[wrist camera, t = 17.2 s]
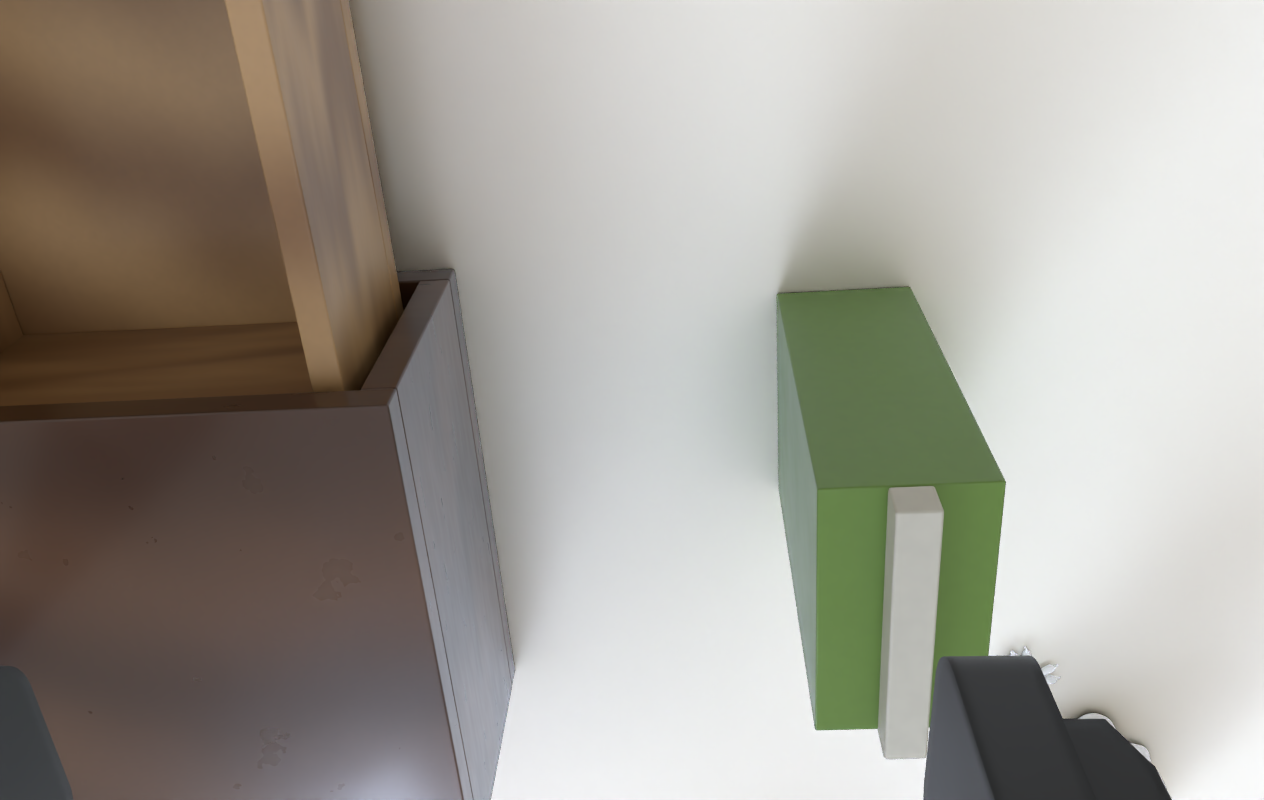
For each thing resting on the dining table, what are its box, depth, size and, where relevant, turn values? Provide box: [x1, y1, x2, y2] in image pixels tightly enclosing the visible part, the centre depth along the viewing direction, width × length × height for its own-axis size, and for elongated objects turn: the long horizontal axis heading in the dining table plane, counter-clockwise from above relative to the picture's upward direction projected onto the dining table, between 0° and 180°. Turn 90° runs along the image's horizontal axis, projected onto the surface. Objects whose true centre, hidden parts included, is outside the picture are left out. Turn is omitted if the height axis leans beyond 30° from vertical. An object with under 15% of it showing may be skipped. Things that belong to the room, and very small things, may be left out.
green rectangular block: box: [777, 287, 1006, 759], centre depth 30 cm, size 7×4×12 cm, turn 4°
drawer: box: [0, 0, 404, 406], centre depth 26 cm, size 20×14×7 cm
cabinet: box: [0, 269, 515, 800], centre depth 34 cm, size 16×15×9 cm
